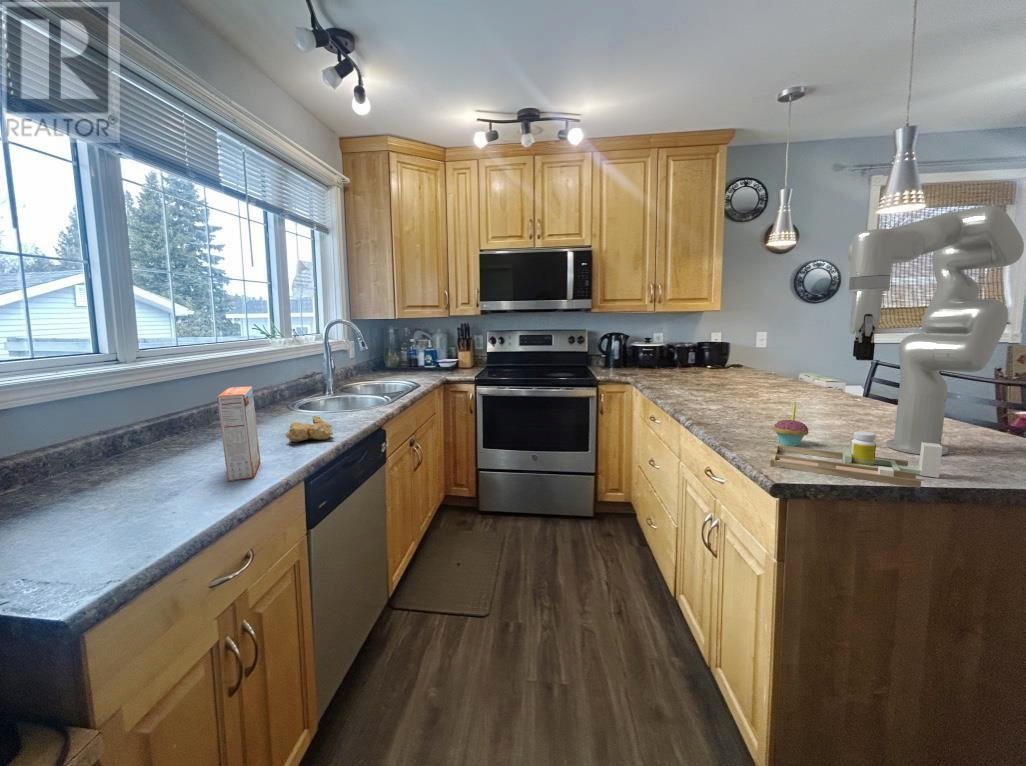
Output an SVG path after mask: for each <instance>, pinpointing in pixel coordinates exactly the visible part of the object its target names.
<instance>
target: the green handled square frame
mask: <svg viewBox="0 0 1026 766" xmlns="http://www.w3.org/2000/svg"><path fill="white" fill-rule="evenodd" d="M941 445H942V444H941ZM941 445H940V444H933V443H924V442H922V443H921V452H920V454H919V461H918V466H917V467H916V466H909V465H908V466H902V465H897V464H896V462H895V461H894V460H886V459H878V458H875V462H874V466H870V465H862V464H854V463H851V460H852V456H851V448H849V447H843V448H842V453H843V458H842V459H841V460H842V463H845V464H853V465H861V466H868V467H876V468H878V466H877V465H879V466H880V465H881V466H886V467H890V468H893V470H899V471H906V472H914V473H916V475H918V476H919V475H920V476H924V477H931V478H940V470H941V464H942V463H941V462H942V456H943V455H942V448H943V447H942V446H943V445H942V446H941Z"/></svg>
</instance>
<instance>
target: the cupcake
mask: <svg viewBox="0 0 1026 766" xmlns="http://www.w3.org/2000/svg"><path fill="white" fill-rule="evenodd" d="M796 410H797V405H796V404H794V405H793V406H792V414H791V419H782V420H780V421H778V422H776V423H775V424H774V425H773V431H774V433H776V435H777V437H778V440H779V443H780V445H782V444H784V445H783V446H786V445H789V446H790V447H798V446H800V444H801V442H802V440H803V438H804V436H808V434H809V427H808V425H806V424H805V423H803V422H801V421H799V420H795V417H796Z"/></svg>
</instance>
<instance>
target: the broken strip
mask: <svg viewBox="0 0 1026 766" xmlns="http://www.w3.org/2000/svg"><path fill="white" fill-rule="evenodd" d="M780 461H784V462H791V463H798V464H806V465H813V466H818V463H814V462H806V461H799V460H791V459H784V458H780ZM877 467H878V471H873V470H866V469H858V468H851V467H843V466H836V469H842V470H849V471H857V472H864V473H871V474H878V475H886V476H894V470H893V468H890V466H884V465H881V466H880V465H878V466H877Z"/></svg>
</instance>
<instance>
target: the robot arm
mask: <svg viewBox="0 0 1026 766" xmlns="http://www.w3.org/2000/svg"><path fill="white" fill-rule="evenodd" d="M1024 248H1025V243H1024V239H1023V237H1022V235H1021V232H1019V229H1018V227H1017V226H1016V225H1015V222H1014V221H1013V220H1012V218H1011V217H1010V215H1009V214H1008V213H1007V212H1006V211H1005V210H1004V209H1003V208H1001V207H999V206H997V205H984V206H980V207H973V208H969V209H968V208H967V209H961V210H955V211H951V212H950V211H949V212H946V213H942V214H939V215H935V216H931V217H927V218H924V219H921V220H917V221H913V222H909V223H905V224H902V225H898V226H895V227H891V228H876V229H875V228H874V229H868V230H863V231H860V232H858V233H856V234H855V235H854V236H853V238H852V242H851V243H850V244H849V247H848V249H847V259H848V261H849V262H850V268H849V281H848V282H849V283H848V293H850V294H851V293H853V297H852V303H851V311H850V323H849V333H850V334H852V335H855V338H854V340H853V348H852V349H853V350H852V351H853V352H852V357H855V360H856V361H873V360H874V359H875V357H874V355H875V347H876V346H875V345H876V343H875V334H877V333H878V332H879V328H880V327H879V325H880V320H881V313H882V305H883V304H882V303H883V295H884V294H883V293H884V292H889V291H890V289H891V287H890V286H891V278H892V267H893V264H902V263H903V264H904V263H908V262H911V261H914V260H916V259H917V258H919V257H920V256H923V255H929V254H931V253H932V257H931V263H932V269H933V273H934V278H935V281H936V289H935V292H934V294H933V296H932V298H931V300H930V302H929V304H928V306H927V308H926V310H925V312H924V314H923V316H922V319H921V323H920V326H921V329H922V330H923V332H919V333H913V334H909V335H908V336H906V337H904V338H903V339H902V340H901V341H900V343H899V345H898V358H899V360H898V361H899V366H900V367H899V371H900V373H899V374H900V375H899V376H900V378H899V379H900V380H899V389H898V390H899V391H898V398H897V399H898V400H897V409H896V417H895V427H894V436H893V438H892V439H888V440H887V441H886V442H885V445H886V446H887V448H890V449H893V450H895V451H899V452H904V453H908V454H909V453H910V454H916V455H920V452H921V443H922V442H924V443H933V444H940V445H941V446H942V447H943V448H942V456H944V455H948V454H949V449H948V447H947V446H944V445H942V439H943V430H944V421H945V420H944V419H945V416H946V415H945V414H946V413H945V412H946V407H947V405H946V404H947V399H948V397H947V396H948V385H947V382H946V380H945V379H944V377H943V376H942V375H941V372H939V371H949V372H950V371H951V372H962V373H974V372H975V373H976V372H980V371H982V370H983V369H985V368H986V367H987V365H988V364H989V362H990V360H991V359H992V356H993V354H994V353H995V350H996V349H997V346H998V344H999V342H1000V340H1001V339H1002V336H1003V334H1004V332H1005V329H1006V328H1007V324H1008V320H1009V310H1008V307H1007V305H1006V304H1005V303H1004V302H1003V301H1001V300H998V299H994V298H993V299H992V298H978V296H979V295H980V292H981V291H980V290H981V289H980V287H979V285H978V283H977V282H976V281H975V280H974V279H973V278H972V277H971V276H970V275H968V274H967V273H965V271H966V270H968V271H969V270H979V269H991V268H992V269H993V268H1002V267H1007V266H1011V265H1013V264H1015V263H1018V261H1019V260H1020V259H1021V258H1022V256H1023V254H1024V251H1025V250H1024Z"/></svg>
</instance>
